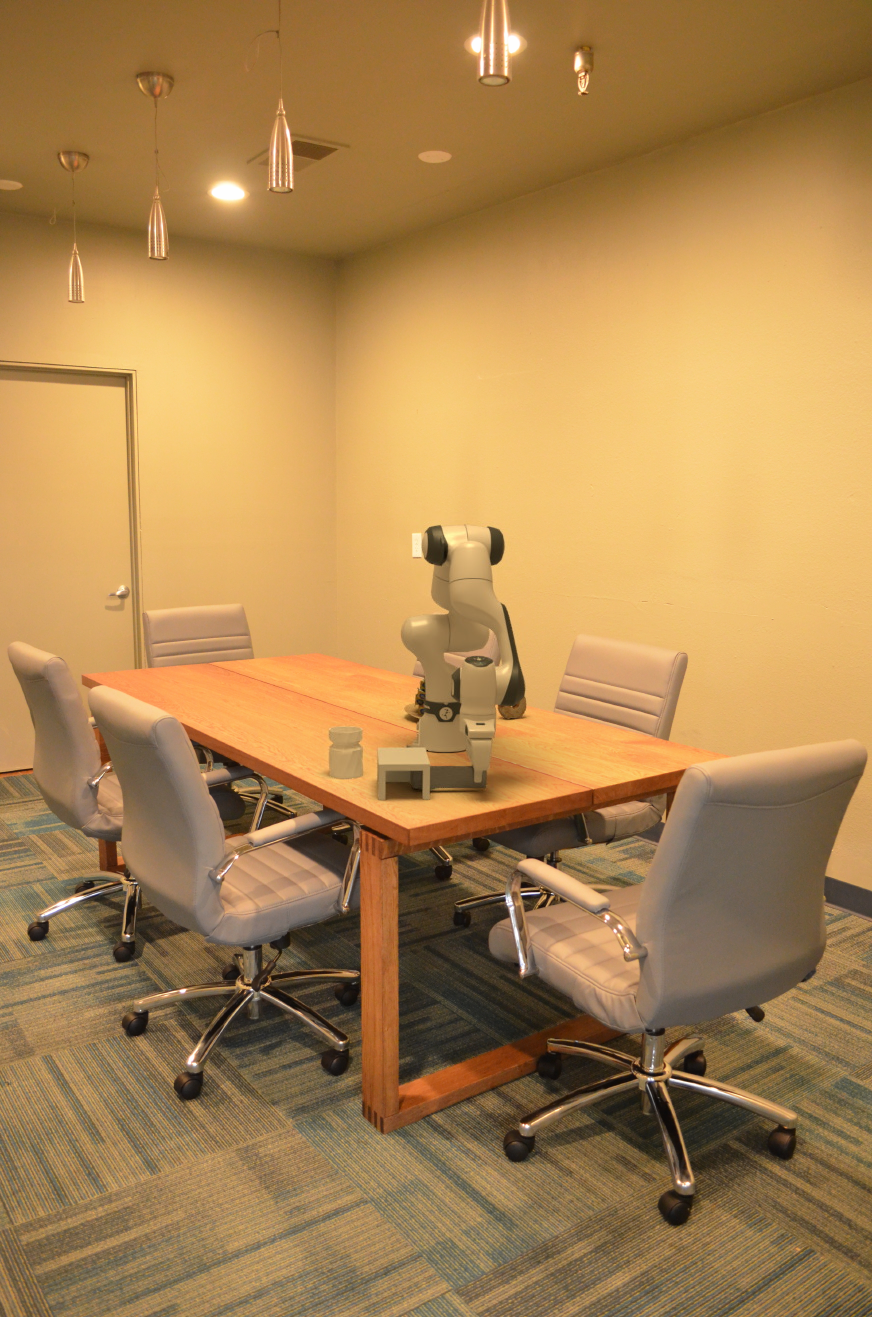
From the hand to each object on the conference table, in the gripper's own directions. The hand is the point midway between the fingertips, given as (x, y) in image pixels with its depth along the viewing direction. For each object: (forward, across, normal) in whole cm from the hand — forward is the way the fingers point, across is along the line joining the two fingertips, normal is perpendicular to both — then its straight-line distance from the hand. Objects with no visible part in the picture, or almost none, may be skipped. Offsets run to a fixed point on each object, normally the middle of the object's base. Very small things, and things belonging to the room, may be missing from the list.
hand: (476, 780), depth 240 cm
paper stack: (+3, -94, -2) cm, 94 cm away
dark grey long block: (+2, -2, -7) cm, 7 cm away
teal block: (+3, -4, -12) cm, 13 cm away
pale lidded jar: (+3, -16, -32) cm, 36 cm away
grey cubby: (+3, -1, -18) cm, 18 cm away
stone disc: (+3, -94, +22) cm, 97 cm away
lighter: (+3, -15, -18) cm, 23 cm away
